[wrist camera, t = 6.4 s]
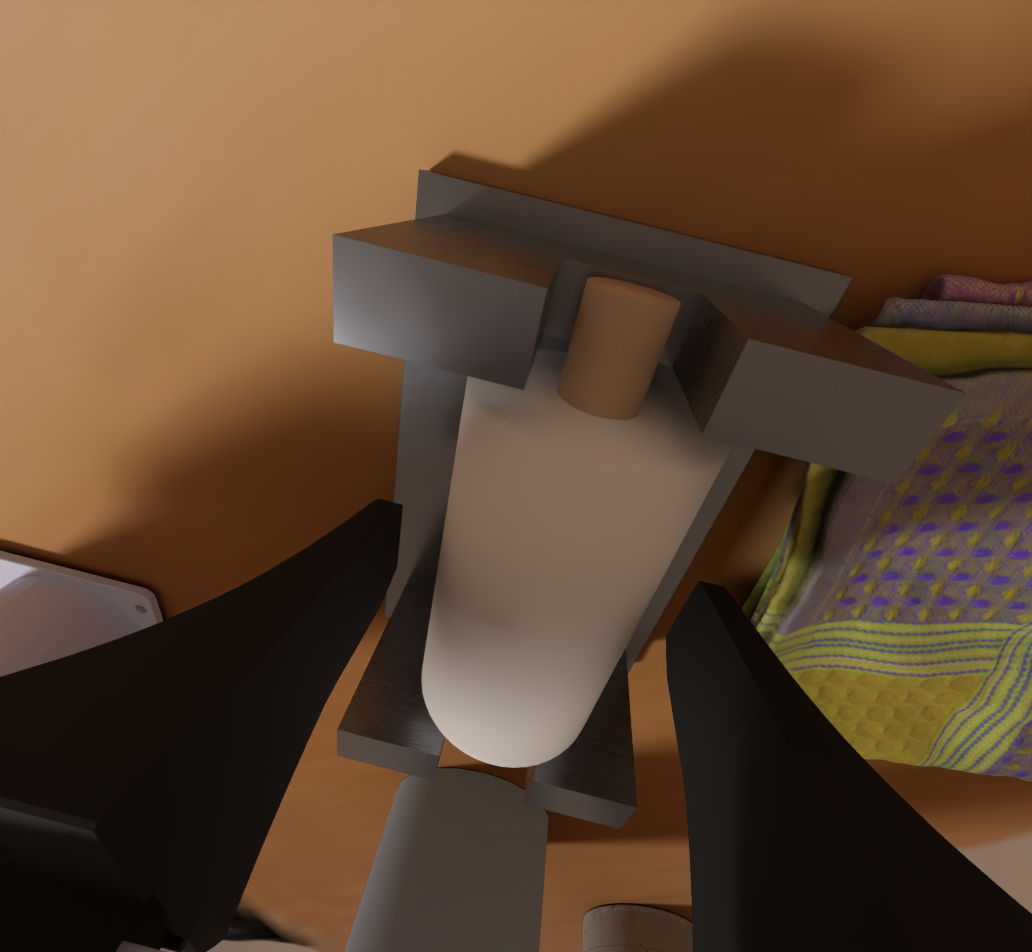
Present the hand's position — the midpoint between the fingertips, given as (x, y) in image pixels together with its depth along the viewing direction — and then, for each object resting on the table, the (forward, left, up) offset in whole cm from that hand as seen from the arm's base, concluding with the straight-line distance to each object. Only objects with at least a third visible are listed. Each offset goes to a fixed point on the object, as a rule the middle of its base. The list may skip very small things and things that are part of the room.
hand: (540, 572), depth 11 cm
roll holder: (0, 0, -4) cm, 4 cm away
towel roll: (0, 0, 0) cm, 0 cm away
